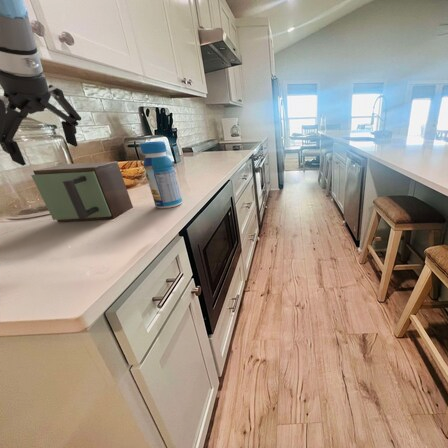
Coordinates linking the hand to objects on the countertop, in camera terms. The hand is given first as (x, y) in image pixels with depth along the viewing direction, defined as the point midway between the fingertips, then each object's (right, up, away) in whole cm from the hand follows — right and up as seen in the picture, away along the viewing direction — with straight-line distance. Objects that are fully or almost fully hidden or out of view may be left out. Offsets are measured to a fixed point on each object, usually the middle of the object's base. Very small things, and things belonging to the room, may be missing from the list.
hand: (47, 152), depth 65 cm
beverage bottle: (+25, -13, +15) cm, 32 cm away
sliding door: (+6, -19, +1) cm, 20 cm away
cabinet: (+5, -16, +10) cm, 20 cm away
